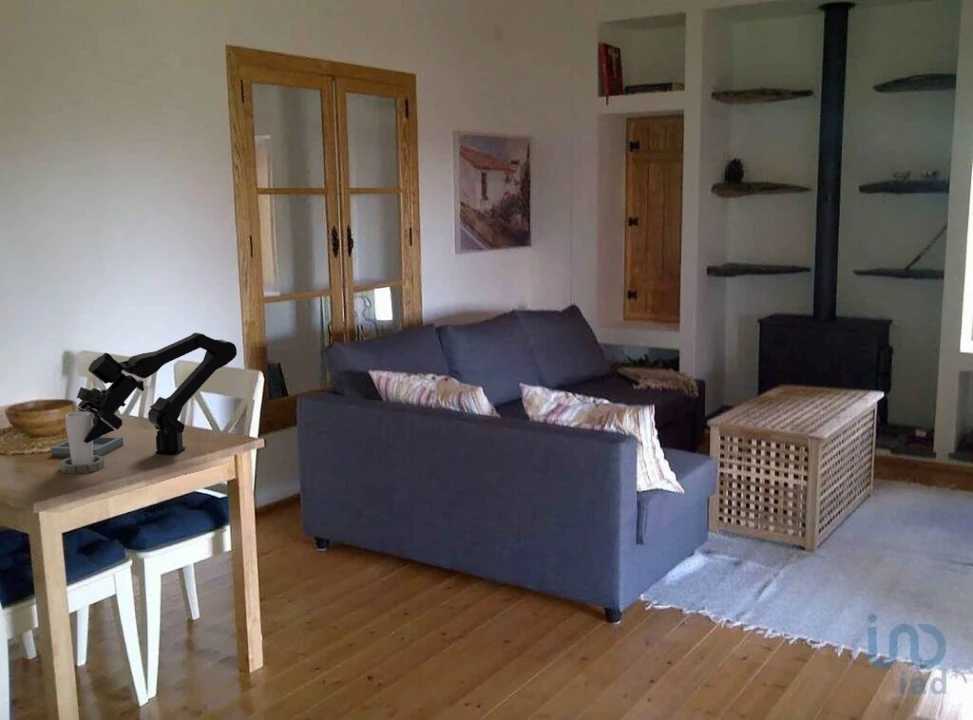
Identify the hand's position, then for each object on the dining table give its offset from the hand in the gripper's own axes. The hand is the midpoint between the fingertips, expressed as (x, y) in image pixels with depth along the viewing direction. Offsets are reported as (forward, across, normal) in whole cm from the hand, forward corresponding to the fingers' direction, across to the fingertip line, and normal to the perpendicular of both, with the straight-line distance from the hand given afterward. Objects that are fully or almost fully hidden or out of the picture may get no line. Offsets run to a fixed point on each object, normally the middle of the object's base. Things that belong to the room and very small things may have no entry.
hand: (79, 438), depth 257 cm
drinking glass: (+6, 0, +6) cm, 8 cm away
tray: (0, -16, +11) cm, 20 cm away
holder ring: (+6, 0, +6) cm, 8 cm away
